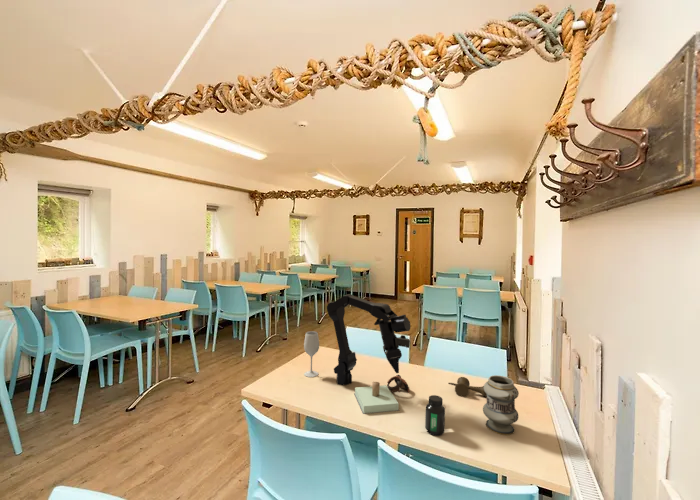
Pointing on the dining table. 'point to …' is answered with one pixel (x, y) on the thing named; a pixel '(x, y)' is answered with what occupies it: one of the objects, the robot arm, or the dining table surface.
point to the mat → (372, 412)
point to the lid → (376, 398)
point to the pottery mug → (397, 384)
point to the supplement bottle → (435, 416)
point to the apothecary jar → (500, 404)
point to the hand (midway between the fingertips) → (396, 370)
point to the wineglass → (311, 349)
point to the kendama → (466, 387)
